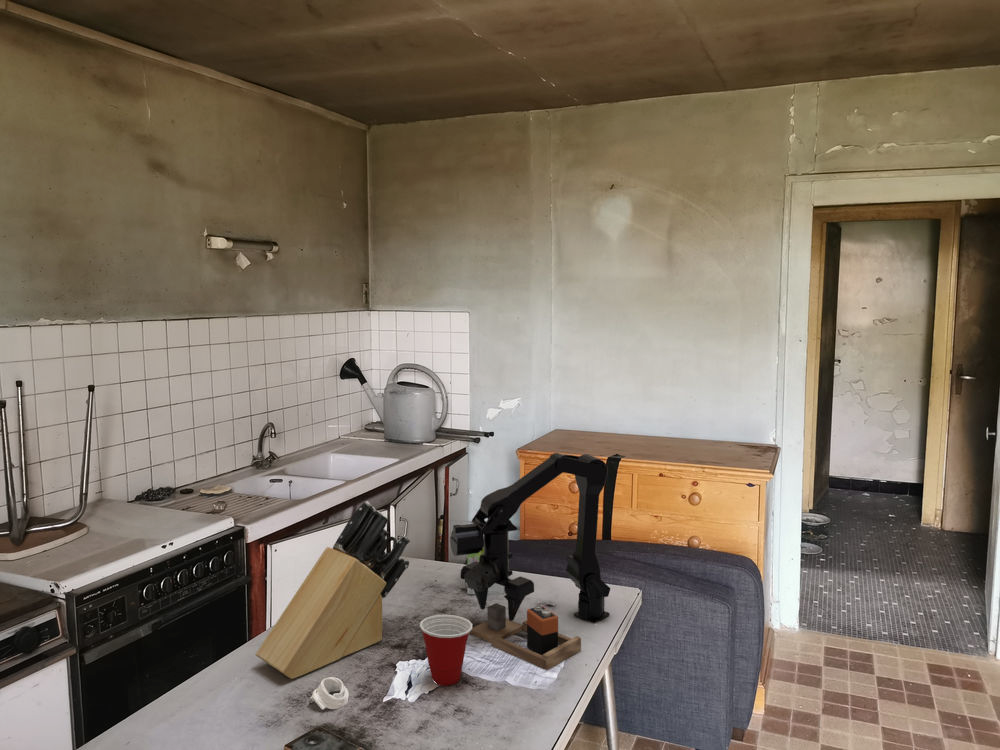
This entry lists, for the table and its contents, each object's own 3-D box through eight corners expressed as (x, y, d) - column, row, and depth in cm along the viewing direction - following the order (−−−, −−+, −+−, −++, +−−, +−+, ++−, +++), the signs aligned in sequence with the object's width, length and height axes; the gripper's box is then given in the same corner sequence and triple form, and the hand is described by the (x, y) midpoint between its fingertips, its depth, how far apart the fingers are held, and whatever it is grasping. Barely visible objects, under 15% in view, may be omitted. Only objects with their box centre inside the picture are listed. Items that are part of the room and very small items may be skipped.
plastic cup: (483, 681, 155) (482, 625, 153) (437, 698, 149) (436, 640, 147) (456, 660, 164) (455, 607, 162) (411, 675, 158) (410, 620, 156)
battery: (541, 660, 163) (541, 616, 162) (526, 647, 169) (526, 604, 168) (559, 656, 165) (559, 612, 164) (542, 643, 171) (542, 601, 170)
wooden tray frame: (501, 618, 184) (501, 594, 183) (580, 650, 167) (581, 624, 167) (466, 634, 175) (466, 609, 175) (547, 670, 159) (546, 642, 158)
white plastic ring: (333, 692, 153) (331, 668, 153) (358, 698, 150) (357, 674, 150) (304, 709, 146) (302, 683, 146) (329, 715, 143) (328, 689, 143)
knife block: (415, 628, 179) (412, 501, 176) (283, 686, 154) (276, 539, 150) (385, 614, 187) (382, 492, 183) (255, 668, 161) (248, 527, 158)
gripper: (442, 549, 175) (444, 614, 177) (501, 569, 162) (502, 639, 164) (477, 537, 183) (478, 599, 185) (535, 555, 170) (535, 622, 172)
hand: (496, 614), depth 176 cm, fingers open, 9 cm apart
